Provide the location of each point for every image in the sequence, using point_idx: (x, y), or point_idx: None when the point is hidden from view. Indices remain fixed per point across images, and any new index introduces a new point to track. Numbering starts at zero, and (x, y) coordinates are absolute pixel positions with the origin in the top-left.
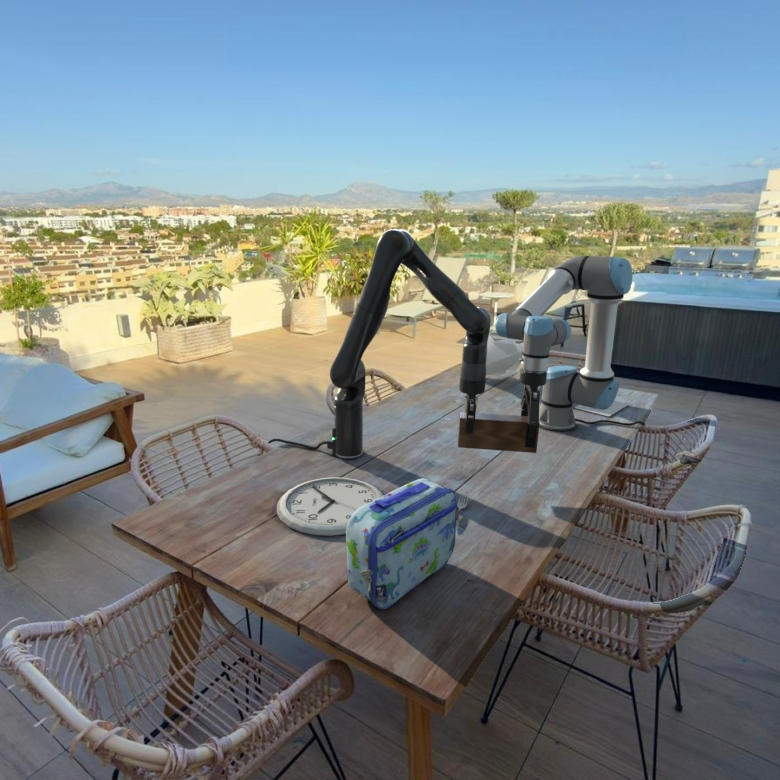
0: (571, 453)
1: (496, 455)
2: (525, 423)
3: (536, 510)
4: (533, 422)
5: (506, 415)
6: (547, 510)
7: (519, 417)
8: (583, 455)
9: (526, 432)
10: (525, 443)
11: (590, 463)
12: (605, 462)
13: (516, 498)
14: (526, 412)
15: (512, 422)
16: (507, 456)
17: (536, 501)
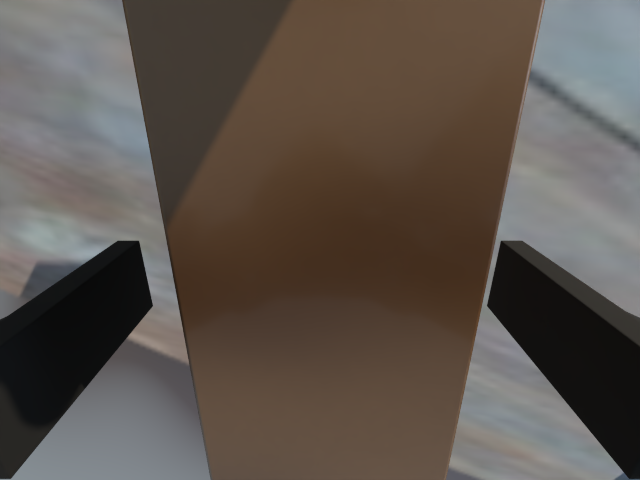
0: (544, 392)
1: (553, 87)
2: (192, 350)
3: (50, 208)
4: (213, 446)
5: (485, 70)
6: (67, 245)
7: (386, 306)
8: (524, 422)
9: (31, 311)
10: (102, 254)
11: (458, 428)
12: (466, 464)
13: (116, 142)
14: (627, 416)
15: (159, 164)
16: (536, 145)
17: (120, 217)
